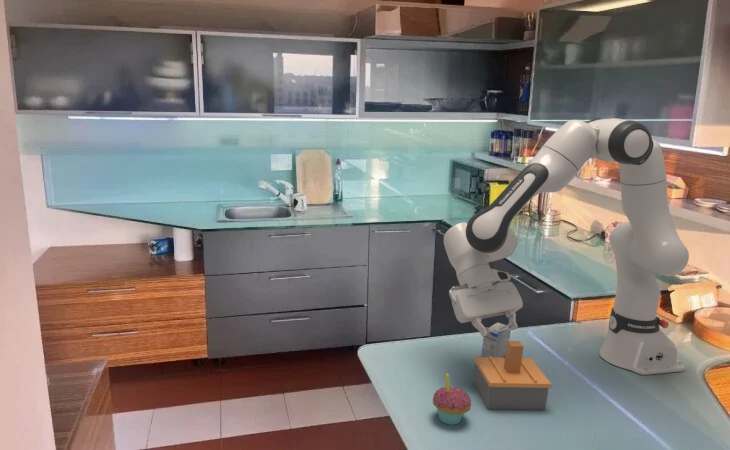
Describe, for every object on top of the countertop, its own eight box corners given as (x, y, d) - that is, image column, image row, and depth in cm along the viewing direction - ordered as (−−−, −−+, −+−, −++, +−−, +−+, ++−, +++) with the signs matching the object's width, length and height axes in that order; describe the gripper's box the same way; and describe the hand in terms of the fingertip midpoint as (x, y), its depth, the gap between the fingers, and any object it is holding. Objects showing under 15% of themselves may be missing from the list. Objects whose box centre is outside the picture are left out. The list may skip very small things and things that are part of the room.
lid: (530, 367, 146) (535, 332, 144) (550, 393, 133) (555, 356, 131) (473, 366, 144) (478, 331, 142) (488, 392, 132) (493, 355, 130)
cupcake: (439, 431, 124) (445, 381, 121) (424, 410, 131) (429, 362, 129) (475, 427, 126) (481, 378, 123) (458, 406, 134) (464, 359, 131)
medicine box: (493, 349, 165) (497, 321, 163) (507, 354, 162) (511, 326, 160) (480, 358, 159) (483, 329, 157) (494, 363, 156) (498, 334, 154)
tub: (526, 383, 146) (530, 362, 145) (545, 409, 135) (548, 386, 133) (473, 382, 145) (476, 361, 144) (487, 409, 134) (490, 386, 132)
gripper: (453, 281, 139) (476, 334, 133) (513, 272, 149) (536, 321, 144) (440, 292, 143) (461, 344, 138) (499, 282, 154) (521, 330, 148)
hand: (500, 332), depth 141 cm, fingers open, 8 cm apart
